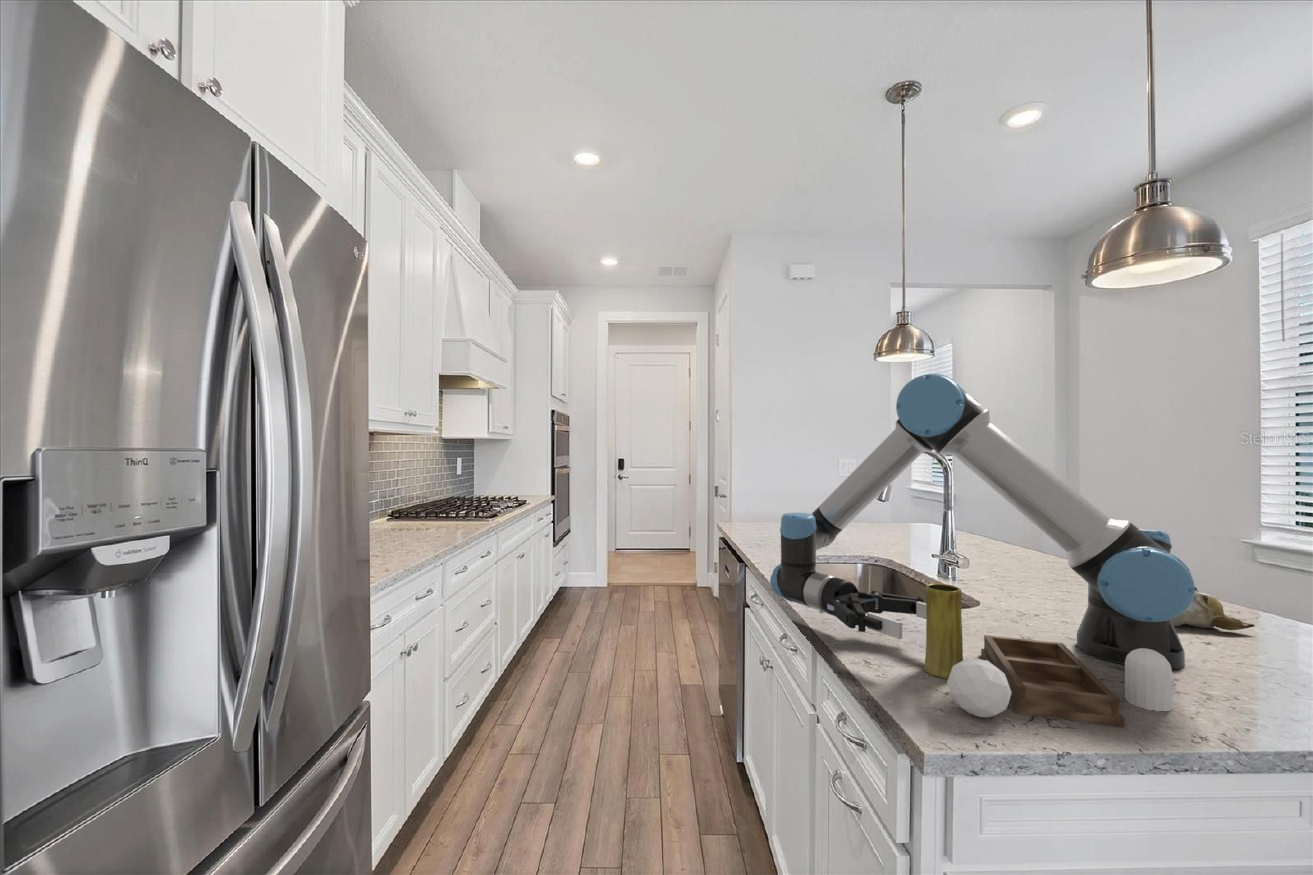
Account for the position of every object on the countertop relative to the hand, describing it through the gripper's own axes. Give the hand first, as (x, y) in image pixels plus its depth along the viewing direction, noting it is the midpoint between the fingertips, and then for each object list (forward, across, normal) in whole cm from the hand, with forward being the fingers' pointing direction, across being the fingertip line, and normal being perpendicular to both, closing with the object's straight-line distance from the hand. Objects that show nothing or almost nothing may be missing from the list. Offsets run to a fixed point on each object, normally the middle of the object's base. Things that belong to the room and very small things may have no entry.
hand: (926, 624), depth 97 cm
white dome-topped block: (+25, -16, -8) cm, 31 cm away
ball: (+14, +9, -8) cm, 18 cm away
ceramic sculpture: (+14, -70, -8) cm, 72 cm away
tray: (+14, -9, -7) cm, 18 cm away
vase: (+3, 0, -8) cm, 8 cm away
